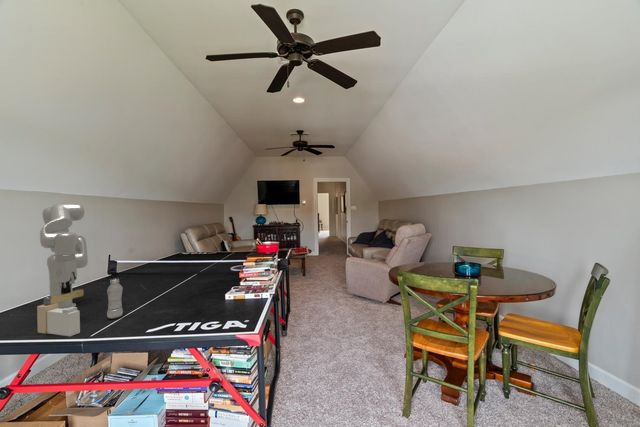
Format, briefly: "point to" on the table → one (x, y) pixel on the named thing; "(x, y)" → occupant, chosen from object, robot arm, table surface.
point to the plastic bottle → (114, 299)
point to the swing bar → (62, 297)
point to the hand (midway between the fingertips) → (66, 295)
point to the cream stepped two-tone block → (58, 320)
